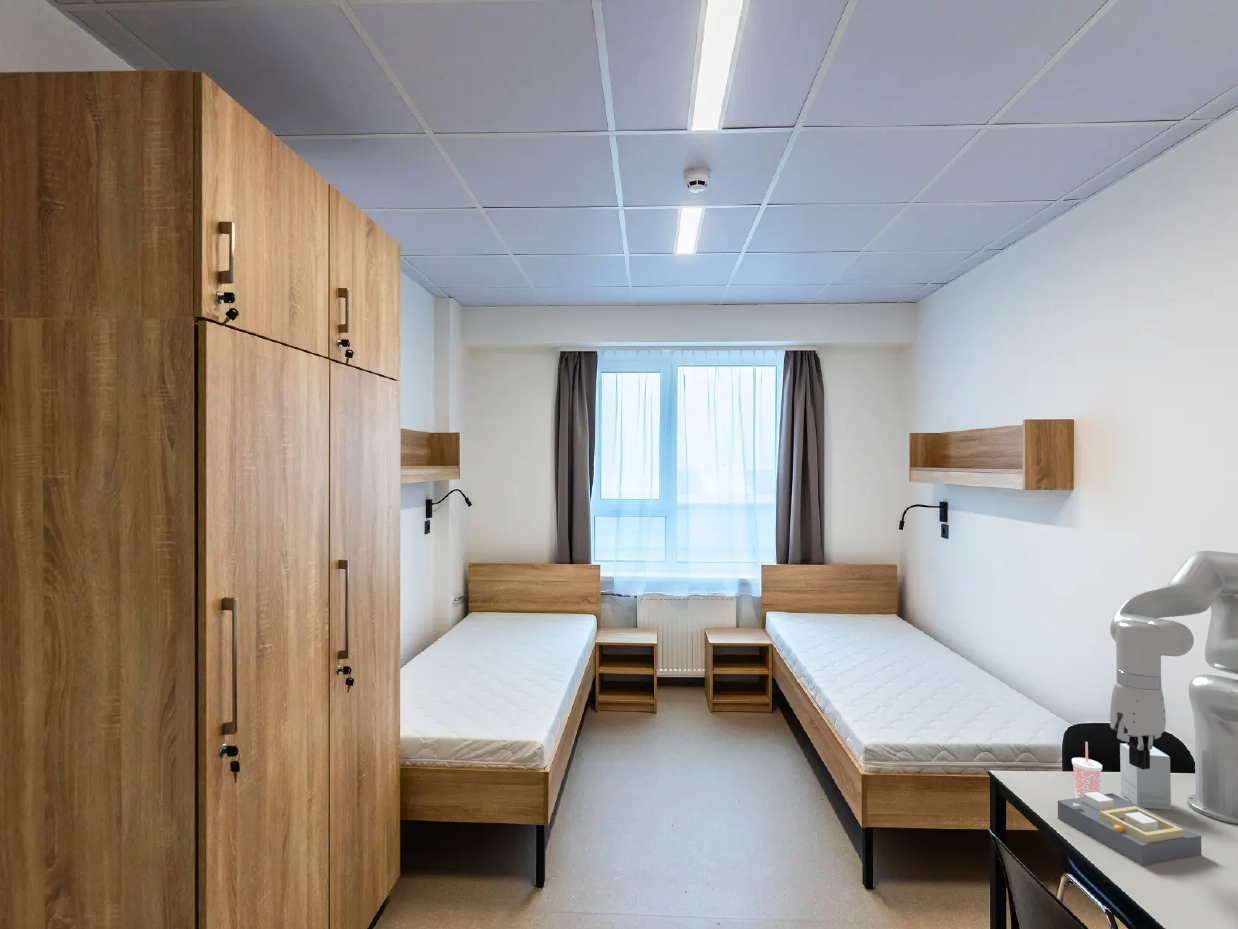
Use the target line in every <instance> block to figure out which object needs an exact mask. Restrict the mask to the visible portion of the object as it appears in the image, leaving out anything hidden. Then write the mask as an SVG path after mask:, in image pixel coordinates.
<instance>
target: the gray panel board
mask: <svg viewBox="0 0 1238 929" xmlns="http://www.w3.org/2000/svg"><path fill="white" fill-rule="evenodd" d="M1102 794H1103V793H1102ZM1103 795H1105V796H1107V797H1109V798H1111V799H1113V800H1114V809H1112V810H1105V811H1100V812H1099V811H1097V810H1095V809H1093V808H1092V807H1090V806H1088V805H1086V804H1084V803H1083V797H1081V798H1076V797H1074V798H1068V799H1061V800H1060V799H1059V800H1057V819H1058V820H1060V821H1062V822H1064V823H1065V824H1068V825H1069V826H1071V827H1073V828H1075V829H1077V830H1078V831H1080V832H1081V833H1083V834H1086V835H1087V836H1088V837H1090V838H1092V839H1094V840H1096V841H1098V842H1100V843H1101V844H1103V845H1105V846H1107V847H1108V848H1110V849H1112V850H1114V851H1115V852H1116V853H1119V854H1120V855H1122V856H1124V857H1126V858H1128V859H1130V861H1132V862H1133V861H1134V862H1135V863H1137V864H1138V865H1140V866H1146V865H1152V864H1158V863H1165V862H1171V861H1177V860H1181V859H1187V858H1192V857H1199V856H1202V854H1203V853H1202V852H1203V851H1202V835H1201V834H1199V833H1196V832H1195V831H1192V830H1190V829H1188V828H1185V827H1184V826H1182V825H1179V824H1177V823H1175V822H1173V821H1171V820H1169V819H1167V818H1165V817H1162V816H1161V815H1158V814H1157V813H1154V812H1153V811H1150V810H1148V809H1147V808H1142V807H1140V806H1138V805H1136V804H1134V803H1132V802H1131V801H1130V800H1128V799H1126V798H1123V797H1121V796H1119V795H1117V794H1115V793H1112V792H1111V793H1106V794H1105V793H1104V794H1103ZM1134 812H1140V813H1142V814H1144V815H1146V816H1148V817H1150V818H1152V819H1154V820H1156V821H1158V830H1157V831H1150V832H1144V831H1142V830H1140V829H1138V828H1136V827H1134V826H1132V825H1130V824H1128V823H1126V822H1124V814H1127V813H1134Z"/></svg>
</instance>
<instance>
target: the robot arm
mask: <svg viewBox="0 0 1238 929" xmlns="http://www.w3.org/2000/svg"><path fill="white" fill-rule="evenodd" d="M1208 609H1210V610H1211V612H1210V621H1209V626H1208V631H1207V637H1206V642H1205V647H1204V648H1205V649H1204V659H1205V662H1206V663H1207V665H1208V666H1210V667H1211V668H1213V669H1215V670H1217V671H1221V672H1224V673H1227V674H1228V673H1229V674H1233V675H1237V676H1238V552H1227V551H1214V550H1212V551H1211V550H1202V551H1196V552H1194V553H1192V554H1190V555H1189V556H1188V557H1187V558H1186V559H1185V561H1183V563H1182V564H1181V566H1180V567H1179V568H1178V569H1177V570H1176V572H1175V573H1174V575H1173V576H1172V577H1171V578H1170V580H1169V581H1168V582H1167V584H1166V585H1162V586H1157V587H1155V588H1152V589H1150V590H1147V591H1143V592H1141V593H1139V594H1138V593H1137V594H1136V595H1134V596H1132V597H1130V598H1129V599H1127V600H1125V602H1124V603H1123V604H1122V605H1121V607H1120V608H1119V609H1118V611H1117V612H1116V613H1115V614H1114V616H1113V618H1112V620H1111V623H1110V627H1109V630H1110V631H1109V632H1110V636H1111V638H1112V639H1113V640H1114V642H1115V643H1116V644H1115V649H1116V650H1115V651H1116V657H1115V658H1116V684H1114V685H1113V689H1112V694H1111V700H1110V709H1109V711H1110V712H1109V726H1110V729H1111V730H1114V731H1117V734H1116V738H1117V740H1120V741H1122V742H1125V744H1127V745H1128V746H1129V763H1130V764H1131V765H1133V766H1136V767H1138V768H1140V769H1143V770H1144V769H1150V750H1151V749H1152V746H1154V745H1153V743H1154V741H1156V740H1158V739H1159V738H1161V737H1162V733H1164V732H1165V730H1166V721H1167V720H1166V708H1165V699H1164V694H1163V690H1162V689H1163V688H1162V657H1166V656H1167V657H1180V656H1184V655H1186V654H1187V653H1189V652H1190V651H1191V649H1193V646H1194V640H1195V637H1194V634H1193V632H1192V630H1190V628H1189V627H1188V626H1187V625H1185V624H1183V623H1181V622H1178V621H1176V620H1170V619H1163V618H1171V617H1172V618H1174V617H1184V616H1185V617H1187V616H1193V615H1197V614H1202V613H1204V612H1206V611H1208ZM1188 698H1189V701H1190V705H1191V710H1192V715H1193V724H1194V725H1193V726H1194V762H1195V764H1194V768H1195V770H1194V771H1195V772H1194V773H1195V774H1194V775H1195V776H1194V777H1195V780H1194V781H1195V794H1190V795H1188V796H1187V801H1186V802H1187V805H1188V806H1189V807H1190V808H1192V809H1193V810H1194V811H1197V812H1198V813H1200V814H1202V815H1205V816H1207V817H1209V818H1212V819H1215V820H1219V821H1222V822H1226V823H1231V824H1234V825H1235V824H1236V825H1238V679H1235V678H1231V677H1226V676H1221V675H1216V674H1215V675H1213V674H1199V675H1196V676H1194V677H1193V678H1192V679H1191V680H1190V682H1189V684H1188Z"/></svg>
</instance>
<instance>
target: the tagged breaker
mask: <svg viewBox="0 0 1238 929" xmlns="http://www.w3.org/2000/svg"><path fill="white" fill-rule="evenodd" d="M1124 822H1126V823H1128V824H1130V825H1132V826H1134V827H1136V828H1138V829H1140V830H1142V831H1144V832H1150V831H1157V830H1158V821H1156V820H1154V819H1152V818H1150V817H1148V816H1146V815H1144V814H1142V813H1140V812H1134V813H1127V814H1124Z"/></svg>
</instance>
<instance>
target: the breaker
mask: <svg viewBox="0 0 1238 929" xmlns="http://www.w3.org/2000/svg"><path fill="white" fill-rule="evenodd" d="M1083 803H1084V804H1086V805H1088V806H1090V807H1092V808H1093V809H1095V810H1097V811H1099V812H1100V811H1105V810H1112V809H1114V800H1113V799H1111V798H1109V797H1107V796H1105V795H1103V793H1101V792H1100V793H1099V792H1090V793H1083Z"/></svg>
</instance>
